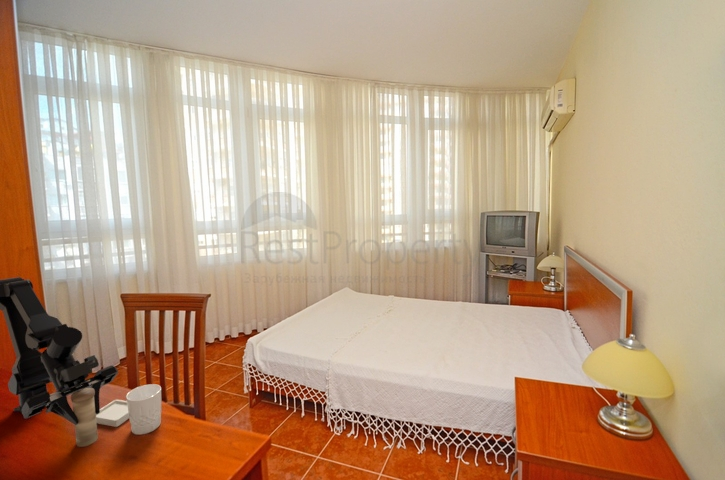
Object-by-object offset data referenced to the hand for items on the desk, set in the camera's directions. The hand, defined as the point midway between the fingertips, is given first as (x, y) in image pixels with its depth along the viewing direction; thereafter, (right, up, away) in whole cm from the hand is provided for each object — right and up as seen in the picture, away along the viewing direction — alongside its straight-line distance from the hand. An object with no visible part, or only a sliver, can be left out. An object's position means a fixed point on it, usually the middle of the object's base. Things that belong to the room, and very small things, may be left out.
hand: (88, 418), depth 86 cm
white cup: (+10, -6, +7) cm, 14 cm away
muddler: (-1, -6, +1) cm, 7 cm away
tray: (-1, -5, +12) cm, 13 cm away
